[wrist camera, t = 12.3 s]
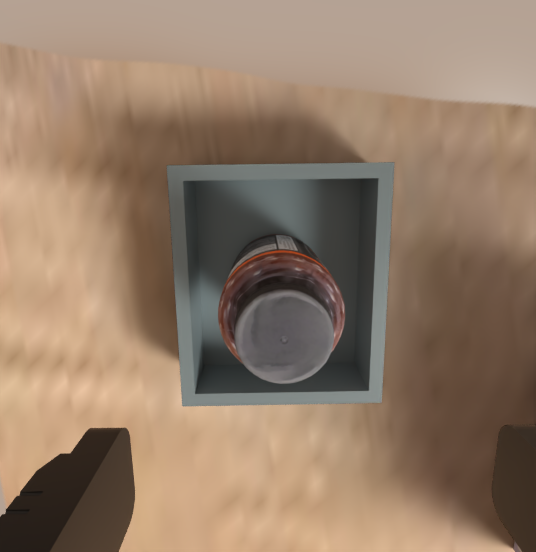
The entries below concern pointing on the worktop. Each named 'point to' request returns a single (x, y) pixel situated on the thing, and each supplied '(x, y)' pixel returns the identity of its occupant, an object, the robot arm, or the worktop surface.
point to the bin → (296, 223)
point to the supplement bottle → (280, 310)
